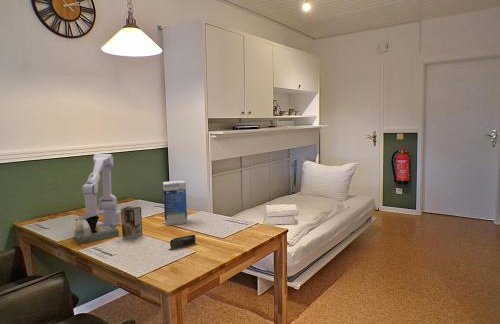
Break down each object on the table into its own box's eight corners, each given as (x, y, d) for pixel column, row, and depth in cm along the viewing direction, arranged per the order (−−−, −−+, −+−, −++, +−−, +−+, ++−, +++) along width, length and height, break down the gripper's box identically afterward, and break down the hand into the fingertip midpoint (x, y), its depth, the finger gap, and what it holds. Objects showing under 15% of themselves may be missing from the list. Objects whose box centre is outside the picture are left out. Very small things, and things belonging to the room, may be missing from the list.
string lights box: (185, 220, 218) (184, 180, 215) (187, 223, 211) (186, 182, 208) (164, 222, 214) (162, 181, 211) (165, 226, 207) (163, 183, 204)
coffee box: (143, 235, 191) (141, 206, 189) (135, 239, 185) (134, 209, 183) (129, 233, 194) (127, 205, 192) (121, 237, 188) (120, 208, 186)
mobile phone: (193, 233, 179) (166, 239, 169) (196, 235, 177) (169, 241, 167) (193, 242, 179) (166, 249, 170) (196, 244, 177) (169, 251, 168)
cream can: (83, 229, 192) (82, 216, 191) (84, 230, 189) (83, 218, 188) (75, 230, 190) (74, 218, 189) (76, 232, 186) (75, 219, 185)
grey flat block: (112, 229, 201) (112, 223, 201) (118, 236, 190) (118, 229, 190) (74, 236, 190) (74, 230, 189) (79, 244, 178) (78, 237, 178)
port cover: (108, 226, 195) (108, 221, 195) (112, 230, 189) (111, 224, 189) (94, 229, 191) (93, 223, 191) (97, 233, 185) (97, 227, 184)
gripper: (97, 201, 193) (99, 225, 194) (74, 208, 180) (76, 233, 181) (106, 203, 189) (108, 227, 191) (83, 209, 177) (85, 235, 178)
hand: (93, 230), depth 186 cm, fingers closed
